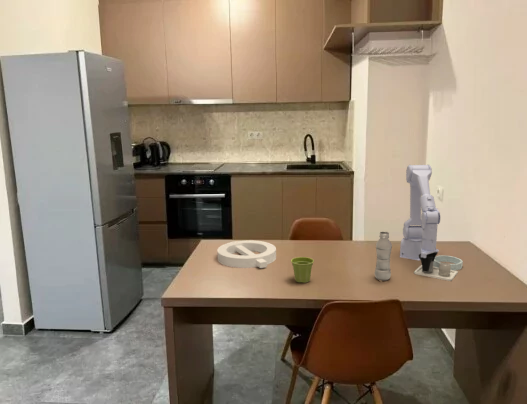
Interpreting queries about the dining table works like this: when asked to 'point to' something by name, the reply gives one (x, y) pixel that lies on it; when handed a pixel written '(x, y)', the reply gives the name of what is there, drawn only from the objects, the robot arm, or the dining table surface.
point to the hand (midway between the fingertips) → (427, 269)
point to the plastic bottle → (383, 257)
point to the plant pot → (302, 268)
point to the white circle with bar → (246, 254)
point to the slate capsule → (429, 268)
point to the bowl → (451, 259)
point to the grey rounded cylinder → (444, 269)
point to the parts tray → (436, 273)
